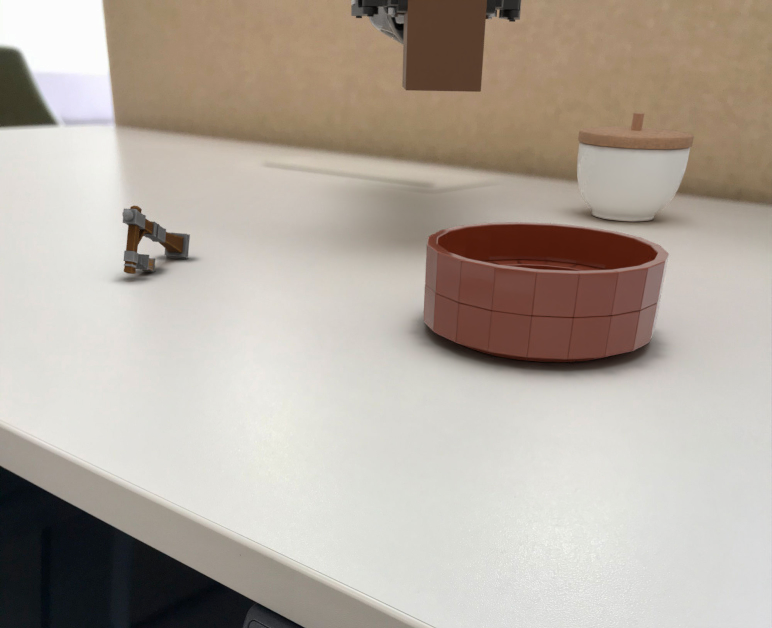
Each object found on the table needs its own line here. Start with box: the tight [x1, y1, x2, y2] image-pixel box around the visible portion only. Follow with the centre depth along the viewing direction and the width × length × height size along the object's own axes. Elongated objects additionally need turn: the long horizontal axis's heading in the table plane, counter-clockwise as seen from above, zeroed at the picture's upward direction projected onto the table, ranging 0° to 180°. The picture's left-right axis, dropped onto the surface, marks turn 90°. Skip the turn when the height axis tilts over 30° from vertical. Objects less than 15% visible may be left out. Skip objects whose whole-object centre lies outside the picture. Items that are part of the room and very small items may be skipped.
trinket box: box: [576, 112, 694, 222], centre depth 80 cm, size 11×11×9 cm
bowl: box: [422, 221, 670, 363], centre depth 47 cm, size 13×13×5 cm
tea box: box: [401, 0, 487, 93], centre depth 59 cm, size 6×6×10 cm
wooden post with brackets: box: [122, 205, 191, 275], centre depth 59 cm, size 2×8×4 cm, turn 167°
